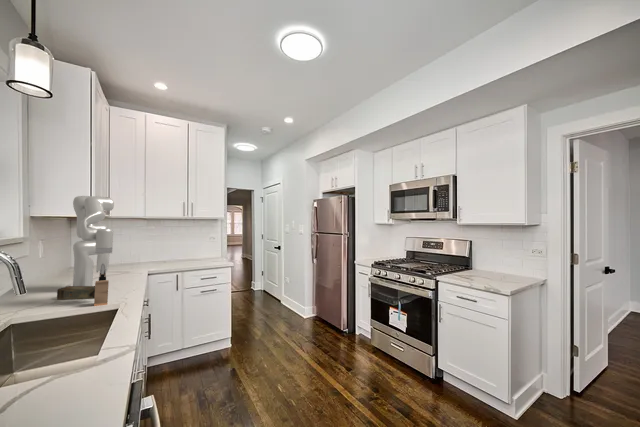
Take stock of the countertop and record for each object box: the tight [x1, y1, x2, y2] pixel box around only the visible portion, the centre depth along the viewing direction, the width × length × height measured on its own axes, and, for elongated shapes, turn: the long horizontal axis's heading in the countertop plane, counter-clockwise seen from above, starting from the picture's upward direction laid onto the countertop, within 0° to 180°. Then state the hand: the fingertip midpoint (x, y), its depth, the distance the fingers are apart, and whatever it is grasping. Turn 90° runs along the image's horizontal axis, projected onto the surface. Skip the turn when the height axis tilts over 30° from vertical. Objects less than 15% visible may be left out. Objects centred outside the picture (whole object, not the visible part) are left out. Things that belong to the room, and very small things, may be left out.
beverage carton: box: [56, 285, 95, 301], centre depth 161 cm, size 8×19×7 cm, turn 102°
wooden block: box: [93, 279, 110, 307], centre depth 149 cm, size 6×6×12 cm
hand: (102, 284), depth 154 cm, fingers closed
